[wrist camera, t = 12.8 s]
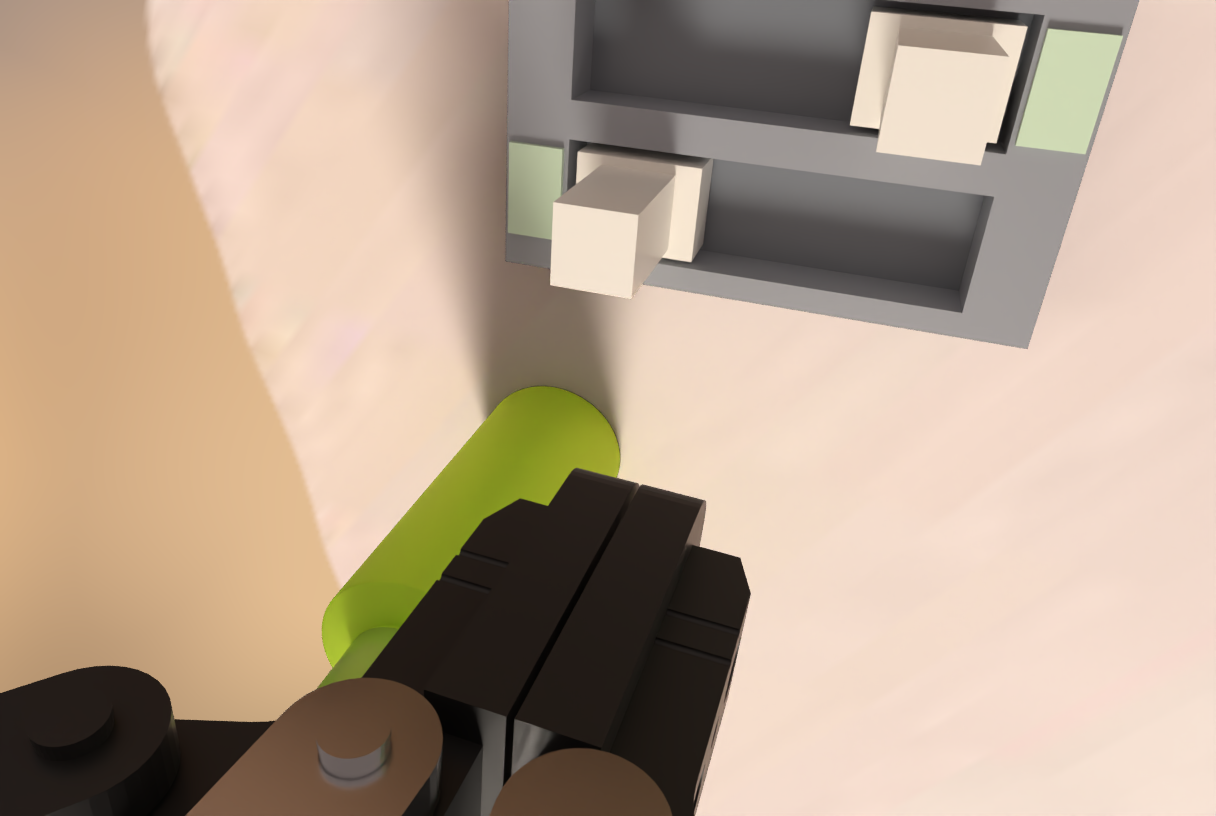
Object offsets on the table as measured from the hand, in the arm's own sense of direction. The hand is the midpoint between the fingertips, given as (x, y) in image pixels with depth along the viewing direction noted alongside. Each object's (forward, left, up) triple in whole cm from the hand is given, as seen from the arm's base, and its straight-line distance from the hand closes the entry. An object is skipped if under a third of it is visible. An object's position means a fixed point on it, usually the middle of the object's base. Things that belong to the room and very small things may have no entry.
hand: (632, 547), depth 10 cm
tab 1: (+5, +2, -22) cm, 22 cm away
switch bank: (+1, 0, -23) cm, 23 cm away
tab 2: (-3, -3, -21) cm, 22 cm away
